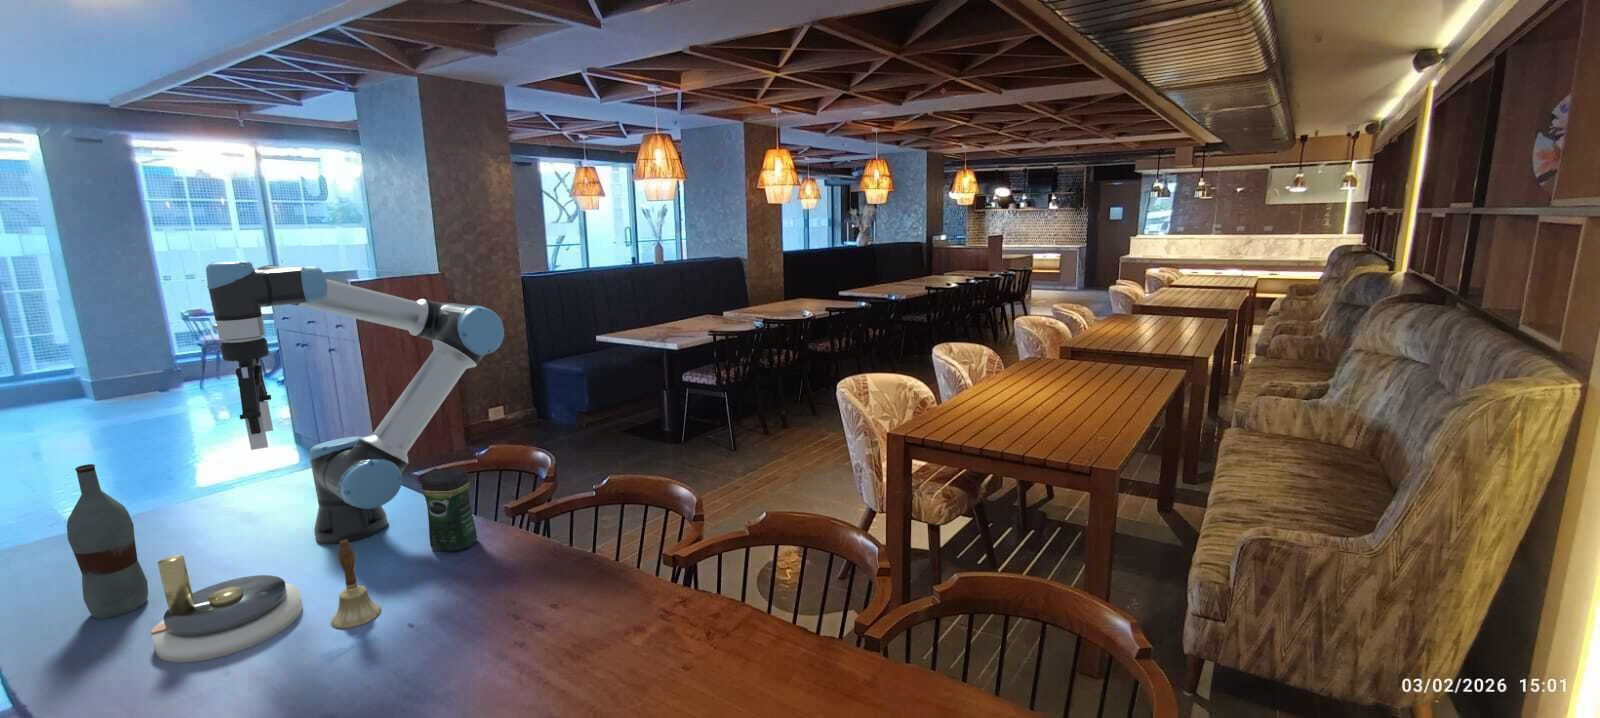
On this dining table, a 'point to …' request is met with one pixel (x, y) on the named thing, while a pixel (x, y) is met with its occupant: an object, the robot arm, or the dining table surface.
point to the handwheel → (215, 600)
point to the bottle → (105, 550)
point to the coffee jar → (449, 509)
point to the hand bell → (352, 595)
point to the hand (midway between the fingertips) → (262, 439)
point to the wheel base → (227, 634)
